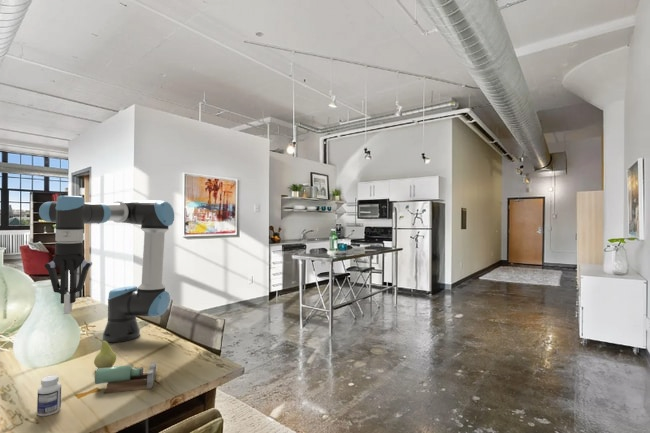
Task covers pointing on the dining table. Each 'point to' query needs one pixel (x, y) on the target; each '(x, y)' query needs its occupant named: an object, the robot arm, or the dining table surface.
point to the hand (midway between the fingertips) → (67, 312)
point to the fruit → (105, 356)
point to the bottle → (116, 374)
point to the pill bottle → (49, 396)
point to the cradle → (134, 382)
